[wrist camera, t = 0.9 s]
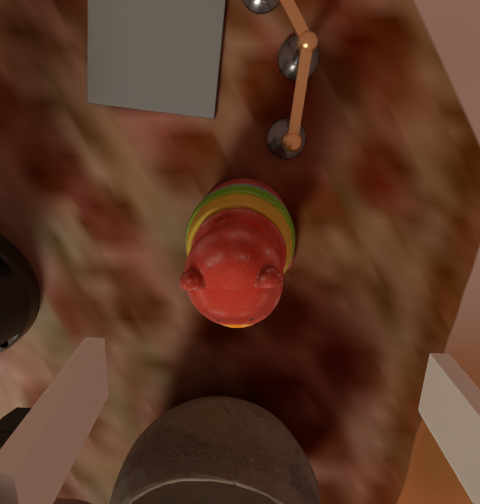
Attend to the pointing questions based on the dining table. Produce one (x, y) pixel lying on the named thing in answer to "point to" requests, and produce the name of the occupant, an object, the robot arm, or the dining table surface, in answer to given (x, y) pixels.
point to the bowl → (216, 458)
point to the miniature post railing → (291, 75)
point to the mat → (155, 54)
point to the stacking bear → (238, 252)
